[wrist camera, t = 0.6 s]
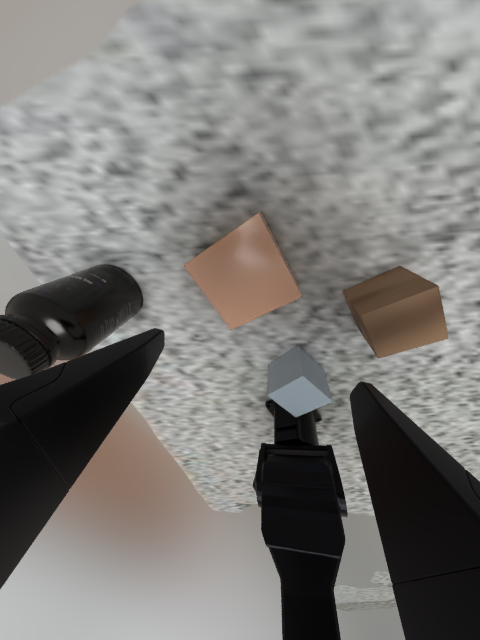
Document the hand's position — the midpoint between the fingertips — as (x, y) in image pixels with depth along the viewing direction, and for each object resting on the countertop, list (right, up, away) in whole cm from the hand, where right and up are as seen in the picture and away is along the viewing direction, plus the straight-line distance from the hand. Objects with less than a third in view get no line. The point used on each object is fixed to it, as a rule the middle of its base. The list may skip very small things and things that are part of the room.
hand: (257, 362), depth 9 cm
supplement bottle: (-16, +6, +15) cm, 23 cm away
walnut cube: (+13, +4, +11) cm, 17 cm away
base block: (0, +7, +12) cm, 14 cm away
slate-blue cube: (+6, -4, +17) cm, 19 cm away
